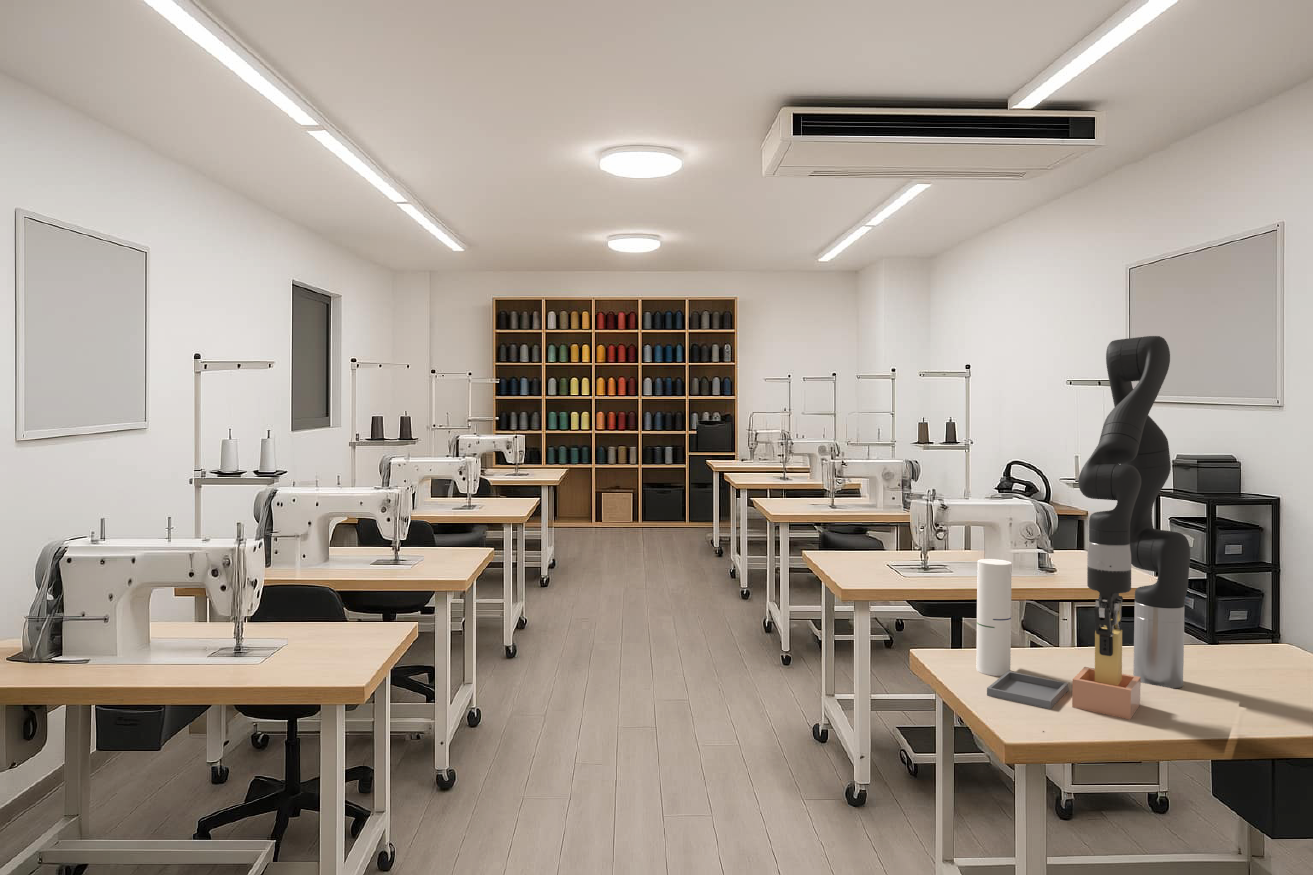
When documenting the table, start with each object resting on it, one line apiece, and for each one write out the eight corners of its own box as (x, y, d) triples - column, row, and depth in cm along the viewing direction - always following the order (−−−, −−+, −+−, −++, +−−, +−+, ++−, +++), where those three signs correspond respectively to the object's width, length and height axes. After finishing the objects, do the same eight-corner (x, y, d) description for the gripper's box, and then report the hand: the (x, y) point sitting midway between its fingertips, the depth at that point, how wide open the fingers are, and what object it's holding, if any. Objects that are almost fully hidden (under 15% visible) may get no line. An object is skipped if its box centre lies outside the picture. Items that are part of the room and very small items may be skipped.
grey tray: (1008, 682, 176) (1008, 670, 176) (1068, 694, 168) (1068, 682, 168) (986, 699, 165) (986, 687, 165) (1050, 714, 157) (1050, 701, 157)
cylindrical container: (1013, 676, 179) (1014, 565, 178) (979, 674, 181) (980, 564, 180) (1006, 666, 186) (1007, 559, 185) (973, 665, 188) (974, 558, 187)
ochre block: (1099, 675, 162) (1099, 626, 161) (1121, 679, 159) (1122, 629, 159) (1094, 681, 158) (1095, 630, 158) (1117, 685, 156) (1118, 634, 156)
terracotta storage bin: (1084, 697, 166) (1084, 666, 166) (1140, 709, 160) (1140, 676, 159) (1072, 711, 158) (1072, 679, 158) (1130, 724, 152) (1130, 690, 152)
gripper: (1123, 574, 150) (1123, 665, 151) (1137, 561, 161) (1137, 646, 162) (1079, 569, 155) (1079, 657, 155) (1095, 557, 166) (1095, 640, 166)
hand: (1108, 651), depth 159 cm, fingers closed on ochre block, 4 cm apart
